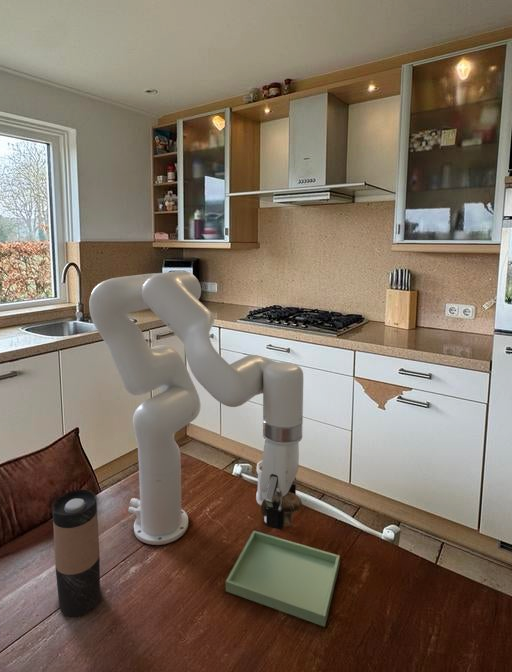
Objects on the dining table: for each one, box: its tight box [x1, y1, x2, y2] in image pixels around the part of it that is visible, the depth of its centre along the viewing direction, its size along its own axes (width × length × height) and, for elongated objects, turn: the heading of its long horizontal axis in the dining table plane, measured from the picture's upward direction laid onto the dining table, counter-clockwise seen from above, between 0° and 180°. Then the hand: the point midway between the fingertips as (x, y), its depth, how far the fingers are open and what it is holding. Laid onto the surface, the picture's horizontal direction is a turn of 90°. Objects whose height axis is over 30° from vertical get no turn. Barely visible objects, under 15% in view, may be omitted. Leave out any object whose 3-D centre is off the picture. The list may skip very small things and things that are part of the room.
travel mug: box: [52, 489, 101, 618], centre depth 78 cm, size 8×8×20 cm
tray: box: [225, 530, 341, 628], centre depth 84 cm, size 19×15×2 cm
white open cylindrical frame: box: [255, 459, 280, 524], centre depth 100 cm, size 7×7×15 cm
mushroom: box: [260, 492, 303, 527], centre depth 82 cm, size 8×8×6 cm
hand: (281, 513), depth 83 cm, fingers closed on mushroom, 7 cm apart
